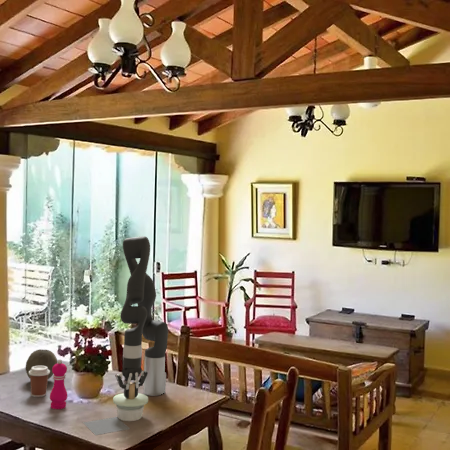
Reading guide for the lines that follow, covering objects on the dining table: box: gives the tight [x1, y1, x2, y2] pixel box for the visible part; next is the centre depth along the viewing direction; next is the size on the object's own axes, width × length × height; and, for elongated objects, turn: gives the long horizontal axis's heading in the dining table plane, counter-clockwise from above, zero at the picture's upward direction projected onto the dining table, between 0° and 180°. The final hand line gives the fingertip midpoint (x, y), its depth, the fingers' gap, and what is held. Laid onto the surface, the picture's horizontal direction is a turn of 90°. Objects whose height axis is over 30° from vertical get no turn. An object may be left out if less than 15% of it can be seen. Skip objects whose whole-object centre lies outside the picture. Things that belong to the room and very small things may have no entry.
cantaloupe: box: [25, 348, 58, 380], centre depth 286 cm, size 14×14×15 cm
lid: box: [112, 381, 149, 407], centre depth 245 cm, size 14×14×7 cm
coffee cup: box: [29, 366, 50, 398], centre depth 268 cm, size 9×9×12 cm
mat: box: [82, 416, 131, 436], centre depth 234 cm, size 14×14×1 cm
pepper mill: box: [49, 359, 68, 410], centre depth 253 cm, size 7×7×20 cm
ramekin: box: [115, 404, 145, 422], centre depth 245 cm, size 11×11×5 cm
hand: (130, 397), depth 245 cm, fingers closed on lid, 3 cm apart
